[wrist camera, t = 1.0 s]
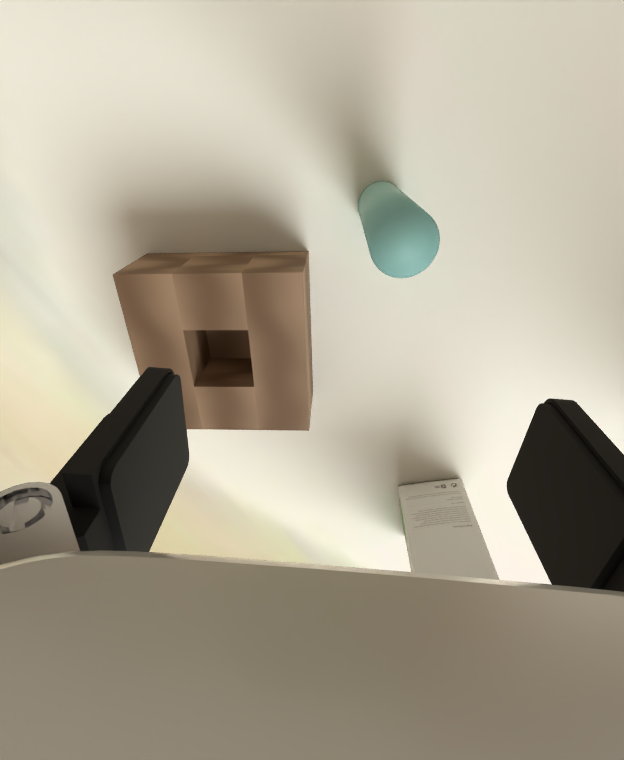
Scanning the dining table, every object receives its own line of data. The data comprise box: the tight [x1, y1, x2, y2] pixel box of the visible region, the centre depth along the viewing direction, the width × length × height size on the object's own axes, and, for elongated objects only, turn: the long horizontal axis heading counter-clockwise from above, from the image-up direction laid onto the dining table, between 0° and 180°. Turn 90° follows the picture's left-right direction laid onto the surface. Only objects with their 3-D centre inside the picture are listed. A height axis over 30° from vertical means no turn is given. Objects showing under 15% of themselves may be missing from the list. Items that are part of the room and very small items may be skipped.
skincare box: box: [398, 479, 499, 580], centre depth 36 cm, size 8×7×16 cm
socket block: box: [113, 251, 313, 430], centre depth 31 cm, size 12×12×6 cm
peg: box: [358, 181, 440, 278], centre depth 23 cm, size 3×3×12 cm
